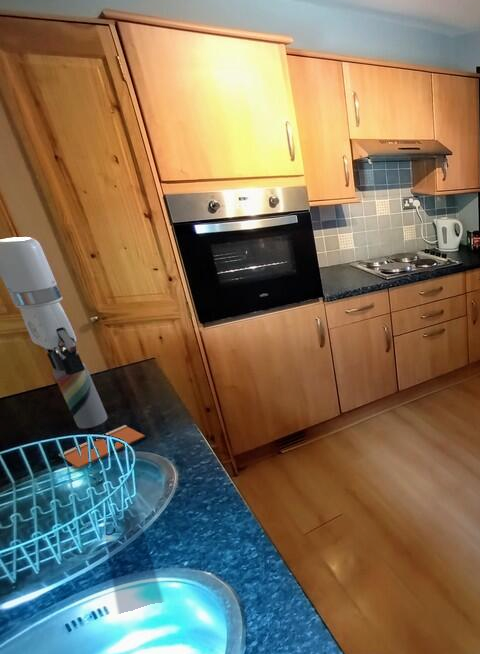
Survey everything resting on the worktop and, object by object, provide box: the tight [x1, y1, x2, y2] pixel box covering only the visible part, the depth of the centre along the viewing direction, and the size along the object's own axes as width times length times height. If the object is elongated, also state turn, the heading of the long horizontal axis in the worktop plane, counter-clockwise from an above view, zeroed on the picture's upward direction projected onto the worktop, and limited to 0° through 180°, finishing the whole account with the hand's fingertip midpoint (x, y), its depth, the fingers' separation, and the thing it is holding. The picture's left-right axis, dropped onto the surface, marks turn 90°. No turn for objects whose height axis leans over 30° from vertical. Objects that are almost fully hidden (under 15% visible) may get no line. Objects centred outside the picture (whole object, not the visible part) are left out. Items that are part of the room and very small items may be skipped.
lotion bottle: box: [51, 347, 108, 429], centre depth 107 cm, size 6×6×20 cm
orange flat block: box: [58, 424, 146, 469], centre depth 114 cm, size 14×10×1 cm
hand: (69, 368), depth 105 cm, fingers closed on lotion bottle, 5 cm apart
